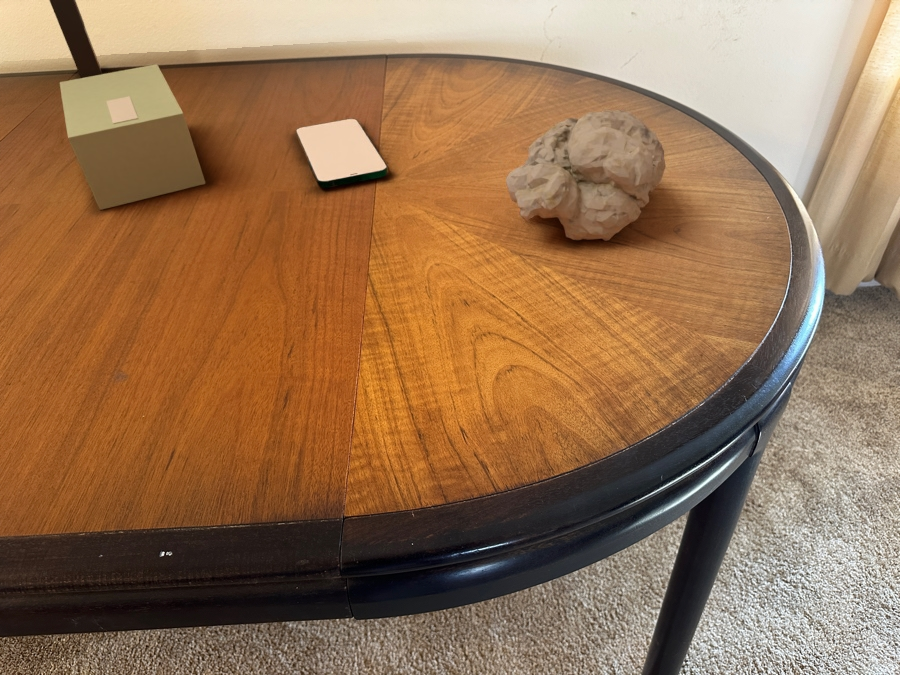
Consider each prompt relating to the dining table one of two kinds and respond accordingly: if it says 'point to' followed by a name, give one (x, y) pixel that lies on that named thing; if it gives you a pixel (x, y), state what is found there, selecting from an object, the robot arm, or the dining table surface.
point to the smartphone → (340, 153)
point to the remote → (76, 37)
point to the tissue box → (129, 136)
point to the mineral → (590, 174)
